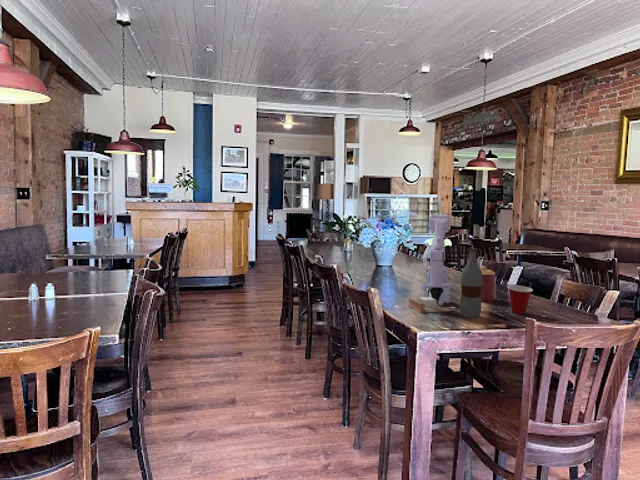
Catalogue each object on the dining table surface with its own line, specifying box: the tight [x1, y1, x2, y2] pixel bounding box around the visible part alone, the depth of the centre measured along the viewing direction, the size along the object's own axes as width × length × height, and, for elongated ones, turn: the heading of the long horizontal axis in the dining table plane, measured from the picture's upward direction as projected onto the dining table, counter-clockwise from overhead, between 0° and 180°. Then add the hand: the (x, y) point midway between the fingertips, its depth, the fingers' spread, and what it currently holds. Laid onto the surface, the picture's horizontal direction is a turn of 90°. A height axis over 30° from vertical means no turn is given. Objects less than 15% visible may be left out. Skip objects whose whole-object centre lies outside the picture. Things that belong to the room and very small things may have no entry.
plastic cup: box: [507, 284, 534, 315], centre depth 216 cm, size 11×11×12 cm
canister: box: [480, 265, 497, 302], centre depth 245 cm, size 13×13×18 cm
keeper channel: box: [408, 298, 456, 314], centre depth 222 cm, size 18×11×4 cm, turn 107°
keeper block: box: [418, 296, 437, 309], centre depth 221 cm, size 6×6×5 cm
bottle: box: [459, 248, 483, 319], centre depth 208 cm, size 9×9×30 cm
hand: (435, 303), depth 222 cm, fingers closed
